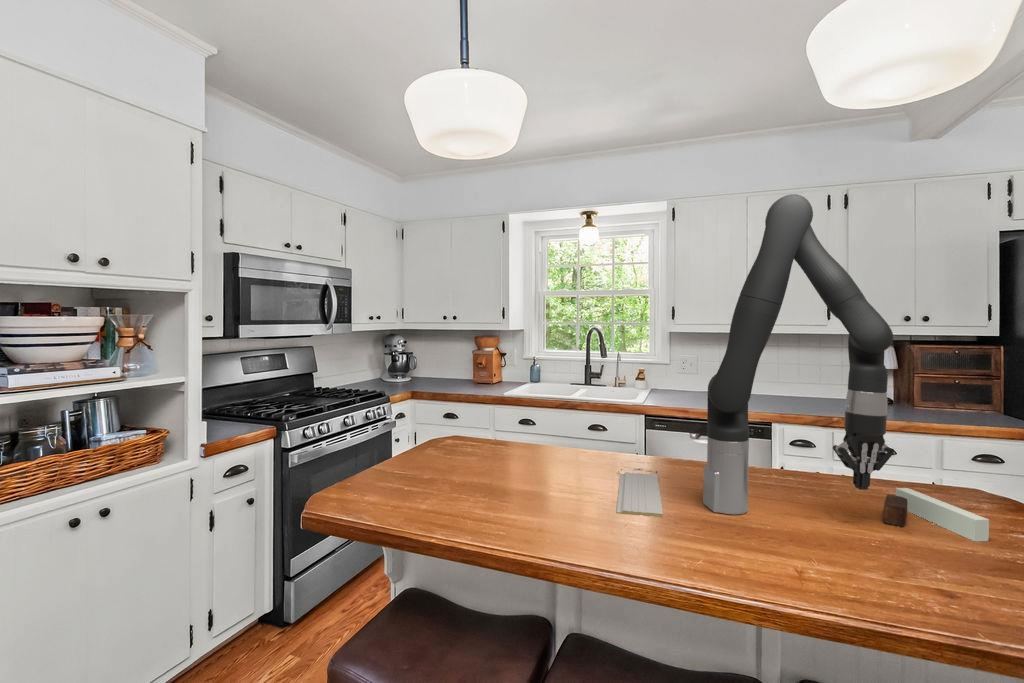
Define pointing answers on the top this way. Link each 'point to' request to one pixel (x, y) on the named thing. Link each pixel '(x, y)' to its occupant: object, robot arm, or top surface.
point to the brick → (895, 510)
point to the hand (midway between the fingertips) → (861, 488)
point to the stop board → (946, 515)
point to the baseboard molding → (639, 495)
